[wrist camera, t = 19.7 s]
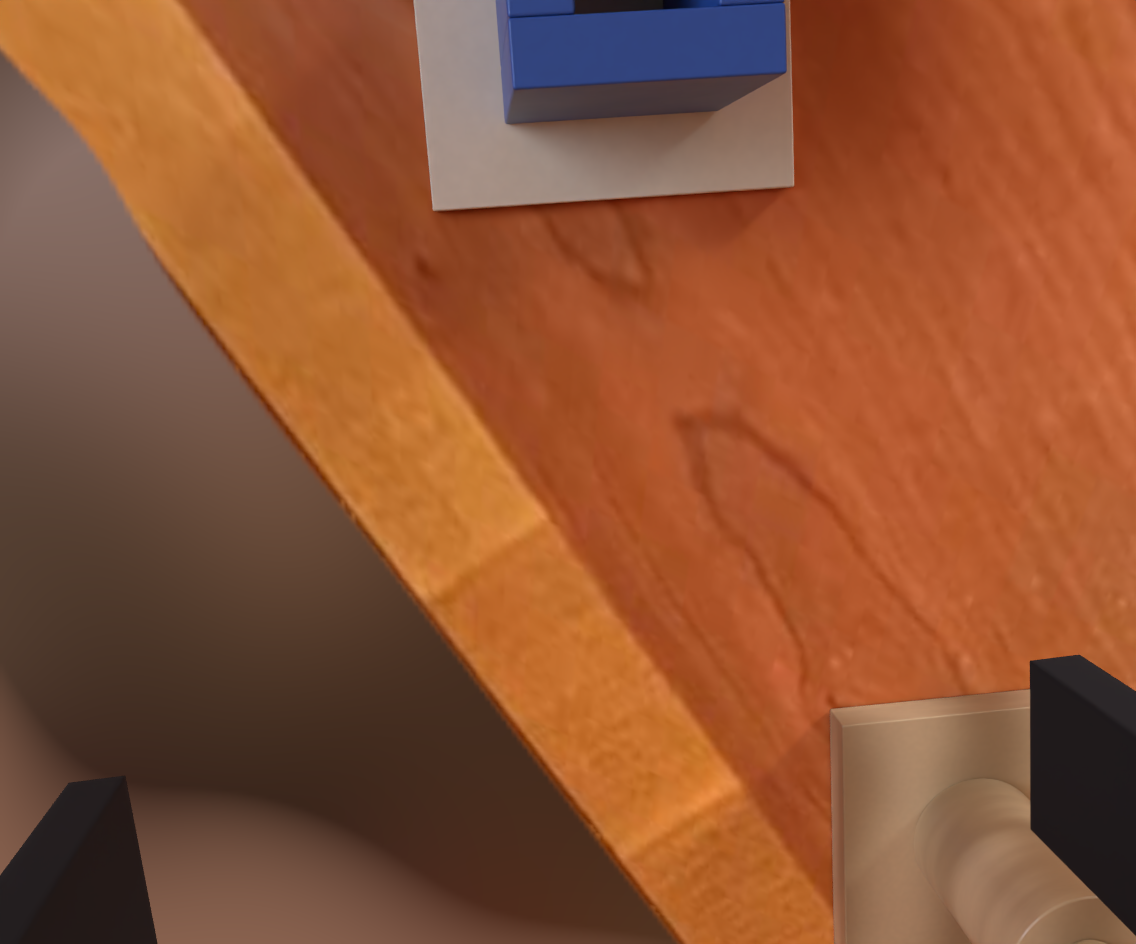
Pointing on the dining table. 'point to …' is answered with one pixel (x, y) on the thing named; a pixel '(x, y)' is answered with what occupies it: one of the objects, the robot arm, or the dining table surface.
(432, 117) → the felt mat
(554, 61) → the blue collar
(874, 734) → the dowel stand
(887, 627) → the dining table surface
